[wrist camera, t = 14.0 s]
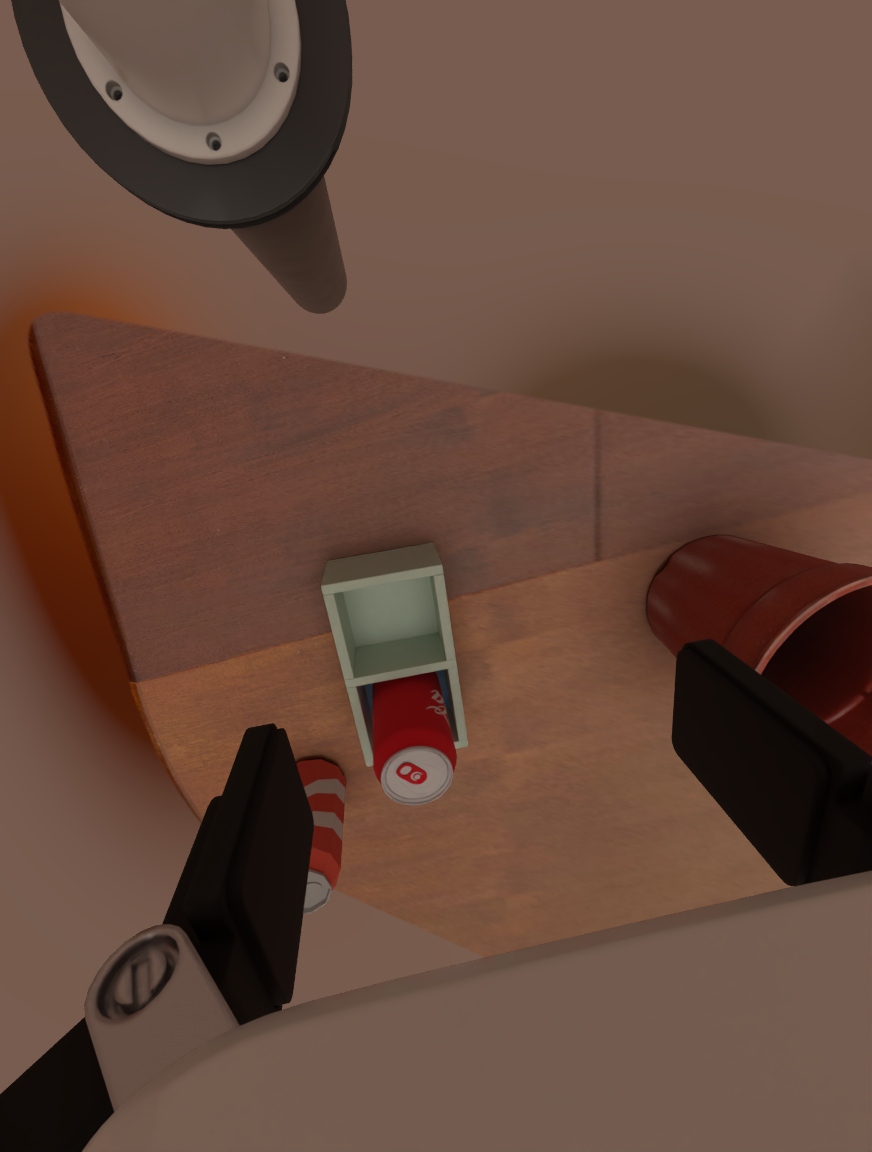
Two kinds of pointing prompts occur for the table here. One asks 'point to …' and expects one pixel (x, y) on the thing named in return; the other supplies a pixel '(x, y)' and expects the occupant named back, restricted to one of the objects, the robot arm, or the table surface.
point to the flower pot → (776, 621)
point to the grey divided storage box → (392, 629)
